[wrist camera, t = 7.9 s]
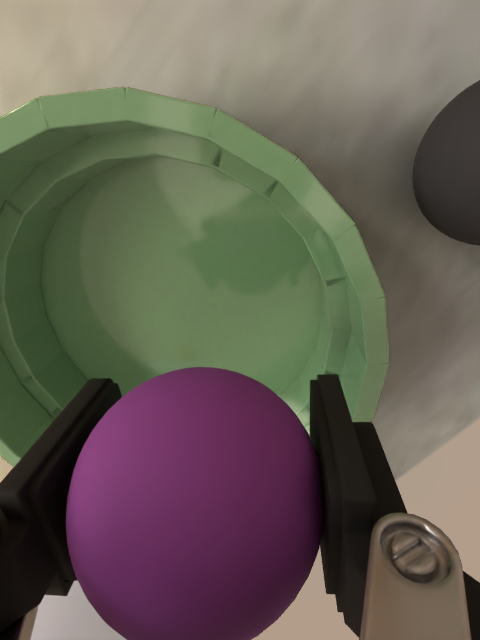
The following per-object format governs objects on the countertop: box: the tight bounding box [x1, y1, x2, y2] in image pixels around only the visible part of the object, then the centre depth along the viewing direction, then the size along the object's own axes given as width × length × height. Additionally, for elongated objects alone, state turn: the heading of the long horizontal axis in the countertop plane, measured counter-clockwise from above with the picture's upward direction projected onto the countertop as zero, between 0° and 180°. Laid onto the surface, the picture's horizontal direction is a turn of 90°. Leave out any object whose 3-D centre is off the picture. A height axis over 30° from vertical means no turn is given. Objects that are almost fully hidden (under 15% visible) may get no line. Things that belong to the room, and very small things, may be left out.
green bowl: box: [0, 87, 390, 467], centre depth 16 cm, size 18×18×6 cm
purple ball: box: [66, 367, 324, 640], centre depth 8 cm, size 6×6×6 cm
